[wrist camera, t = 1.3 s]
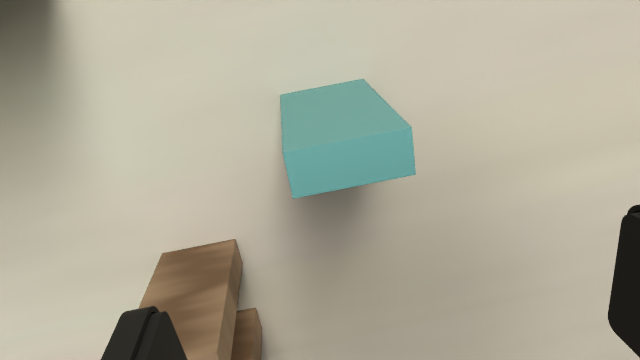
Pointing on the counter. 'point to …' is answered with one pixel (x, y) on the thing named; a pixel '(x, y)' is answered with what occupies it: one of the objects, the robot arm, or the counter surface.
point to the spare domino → (343, 138)
